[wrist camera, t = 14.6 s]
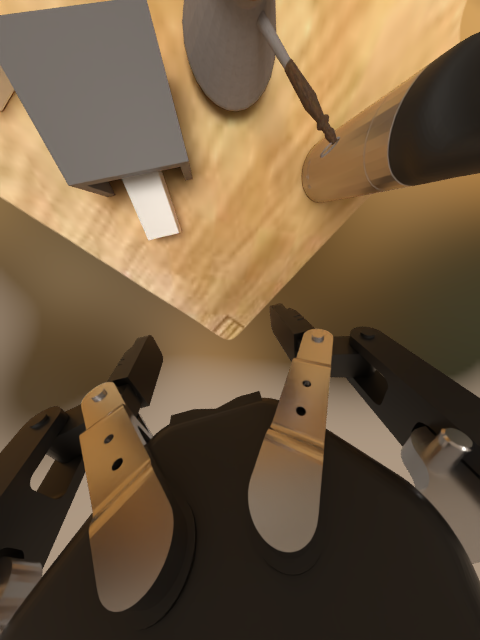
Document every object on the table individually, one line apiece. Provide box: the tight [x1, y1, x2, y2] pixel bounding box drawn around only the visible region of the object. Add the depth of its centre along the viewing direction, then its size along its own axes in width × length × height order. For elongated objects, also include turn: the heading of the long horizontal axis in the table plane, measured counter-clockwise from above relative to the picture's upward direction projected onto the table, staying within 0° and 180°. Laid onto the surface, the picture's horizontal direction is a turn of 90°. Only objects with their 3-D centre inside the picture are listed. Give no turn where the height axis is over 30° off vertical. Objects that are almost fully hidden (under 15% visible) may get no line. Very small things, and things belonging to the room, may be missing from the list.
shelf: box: [0, 0, 192, 197], centre depth 21 cm, size 11×14×10 cm
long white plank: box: [122, 171, 182, 240], centre depth 26 cm, size 16×5×5 cm, turn 12°
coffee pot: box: [182, 0, 340, 158], centre depth 20 cm, size 21×12×15 cm, turn 37°
